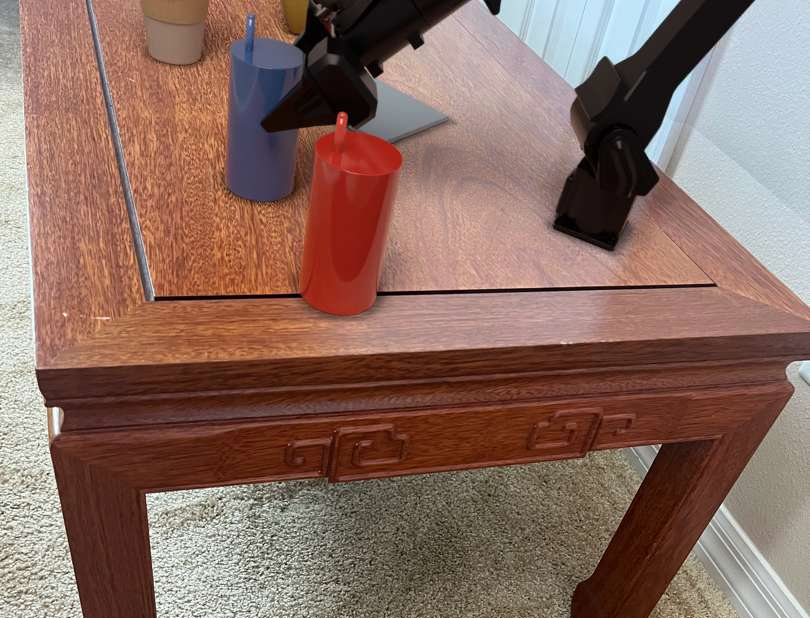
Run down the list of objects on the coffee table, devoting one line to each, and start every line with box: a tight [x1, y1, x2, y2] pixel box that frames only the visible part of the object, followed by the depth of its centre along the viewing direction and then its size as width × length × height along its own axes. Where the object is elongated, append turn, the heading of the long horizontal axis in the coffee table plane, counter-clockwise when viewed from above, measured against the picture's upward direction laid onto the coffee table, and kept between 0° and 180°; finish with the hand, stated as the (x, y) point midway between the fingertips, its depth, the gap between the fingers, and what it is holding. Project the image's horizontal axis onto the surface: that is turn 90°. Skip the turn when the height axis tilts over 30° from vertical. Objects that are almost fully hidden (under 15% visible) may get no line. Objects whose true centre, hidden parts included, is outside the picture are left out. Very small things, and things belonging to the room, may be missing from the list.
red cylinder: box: [298, 112, 404, 316], centre depth 62 cm, size 6×6×16 cm
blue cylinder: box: [224, 12, 304, 203], centre depth 72 cm, size 6×6×16 cm
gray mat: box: [347, 75, 449, 144], centre depth 94 cm, size 14×12×1 cm
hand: (266, 104), depth 72 cm, fingers open, 9 cm apart
